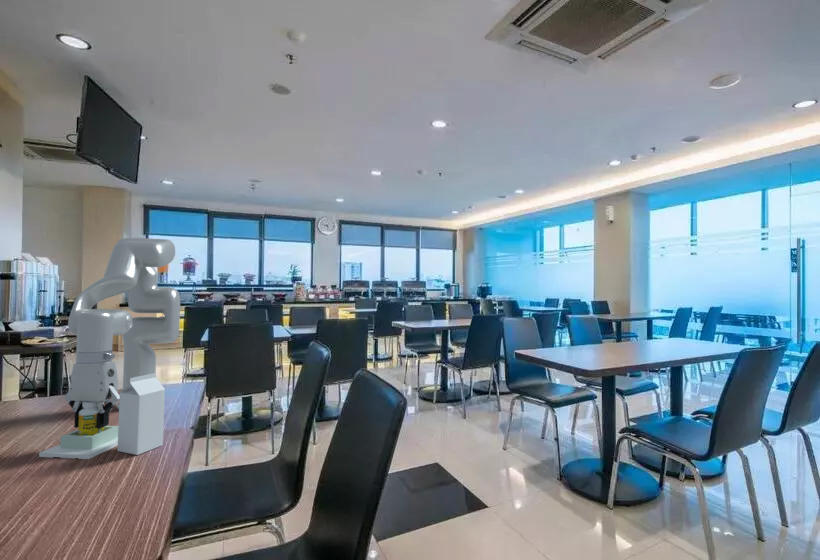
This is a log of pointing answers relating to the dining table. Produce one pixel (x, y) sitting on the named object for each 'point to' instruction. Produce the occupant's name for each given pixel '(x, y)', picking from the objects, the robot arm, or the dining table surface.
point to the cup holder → (84, 444)
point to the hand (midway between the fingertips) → (91, 425)
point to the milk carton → (141, 415)
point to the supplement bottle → (88, 419)
